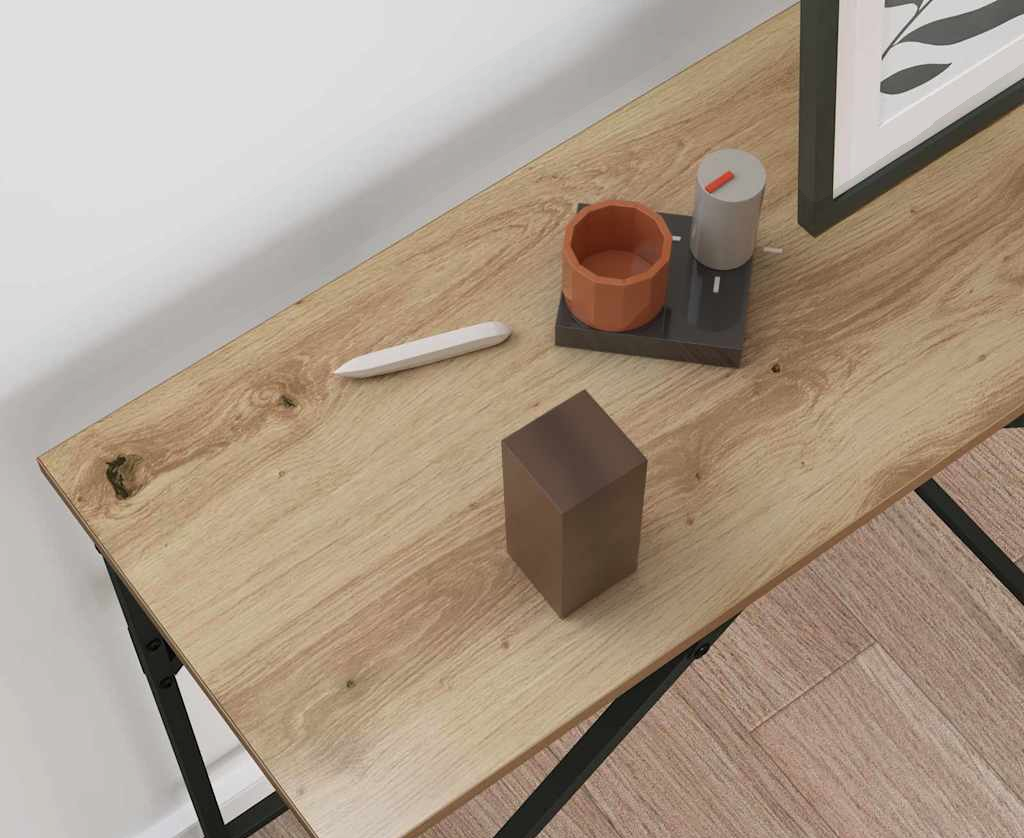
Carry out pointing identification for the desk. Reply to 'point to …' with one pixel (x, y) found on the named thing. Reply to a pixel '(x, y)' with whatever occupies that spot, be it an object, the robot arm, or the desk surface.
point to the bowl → (616, 265)
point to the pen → (426, 350)
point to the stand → (573, 502)
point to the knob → (727, 208)
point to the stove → (678, 311)
